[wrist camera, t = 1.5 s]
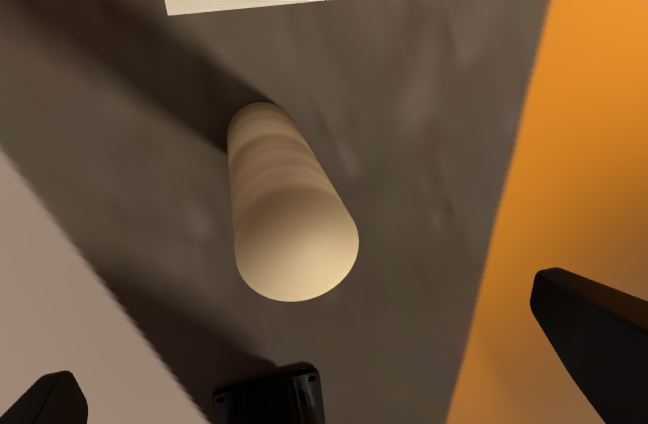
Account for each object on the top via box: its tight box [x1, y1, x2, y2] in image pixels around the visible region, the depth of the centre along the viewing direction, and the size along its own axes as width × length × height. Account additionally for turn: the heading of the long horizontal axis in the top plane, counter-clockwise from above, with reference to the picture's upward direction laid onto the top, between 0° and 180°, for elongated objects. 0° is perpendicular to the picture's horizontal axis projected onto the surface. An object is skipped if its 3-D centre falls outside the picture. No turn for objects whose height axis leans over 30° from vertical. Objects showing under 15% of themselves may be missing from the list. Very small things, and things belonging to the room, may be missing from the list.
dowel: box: [227, 102, 359, 302], centre depth 16 cm, size 3×3×10 cm
